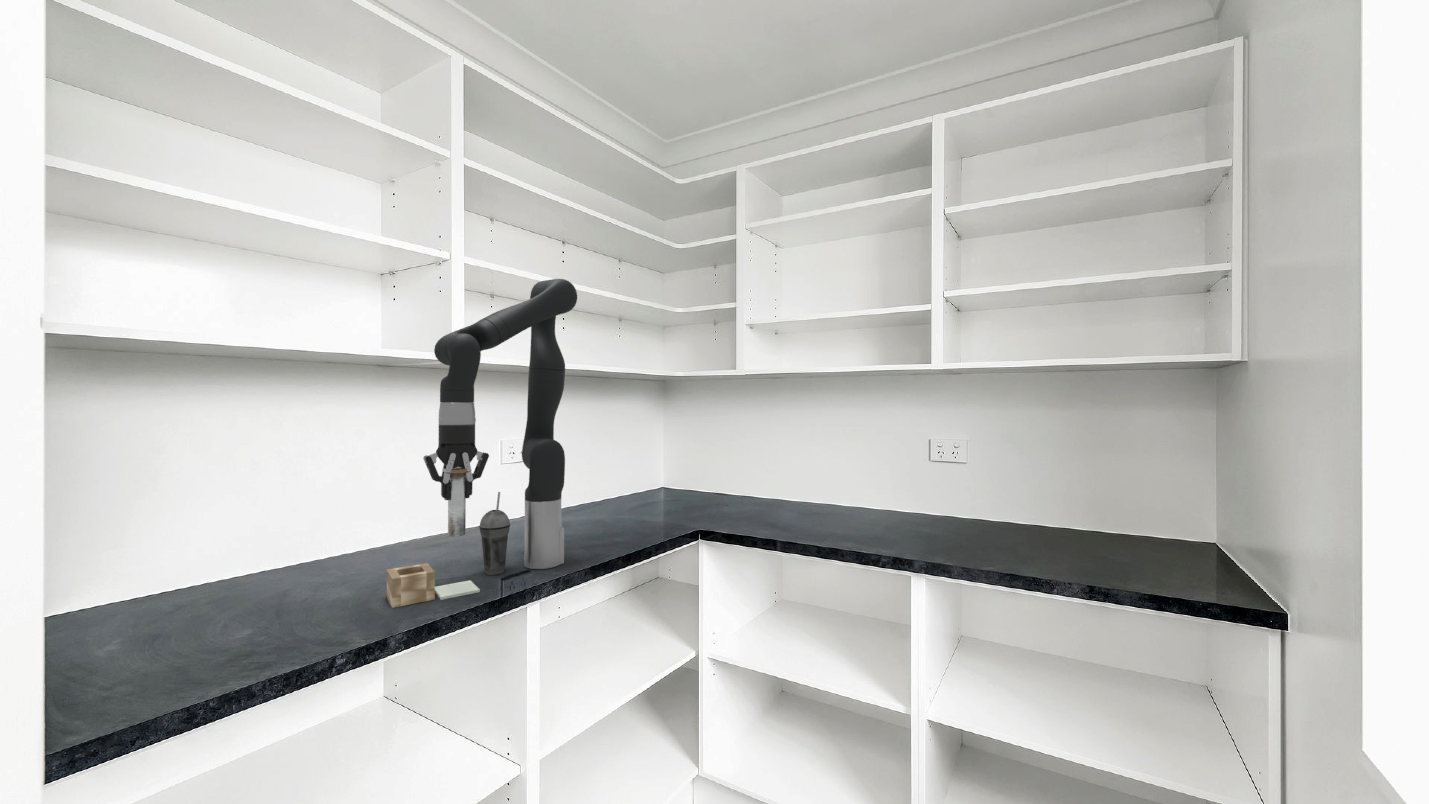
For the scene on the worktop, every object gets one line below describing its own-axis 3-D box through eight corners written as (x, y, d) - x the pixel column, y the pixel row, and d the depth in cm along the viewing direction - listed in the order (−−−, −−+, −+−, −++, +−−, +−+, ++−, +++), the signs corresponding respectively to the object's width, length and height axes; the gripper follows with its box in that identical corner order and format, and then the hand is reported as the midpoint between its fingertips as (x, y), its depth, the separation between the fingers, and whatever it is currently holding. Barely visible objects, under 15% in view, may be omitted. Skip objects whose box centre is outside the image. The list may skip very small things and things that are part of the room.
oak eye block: (427, 589, 126) (427, 563, 126) (434, 599, 119) (434, 571, 119) (386, 596, 121) (386, 569, 121) (392, 607, 114) (392, 579, 114)
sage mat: (470, 582, 130) (470, 580, 130) (479, 592, 124) (479, 589, 124) (432, 589, 125) (432, 587, 125) (440, 599, 119) (440, 597, 119)
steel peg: (465, 531, 128) (465, 466, 128) (470, 535, 124) (471, 468, 124) (442, 534, 125) (443, 467, 125) (447, 538, 121) (447, 470, 121)
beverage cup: (472, 573, 138) (473, 493, 138) (498, 566, 144) (498, 489, 144) (490, 578, 134) (490, 495, 134) (516, 570, 140) (516, 491, 140)
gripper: (485, 421, 132) (484, 493, 132) (419, 422, 123) (418, 499, 123) (494, 422, 126) (494, 498, 126) (425, 423, 117) (425, 504, 117)
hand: (456, 498), depth 125 cm, fingers closed on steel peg, 3 cm apart
